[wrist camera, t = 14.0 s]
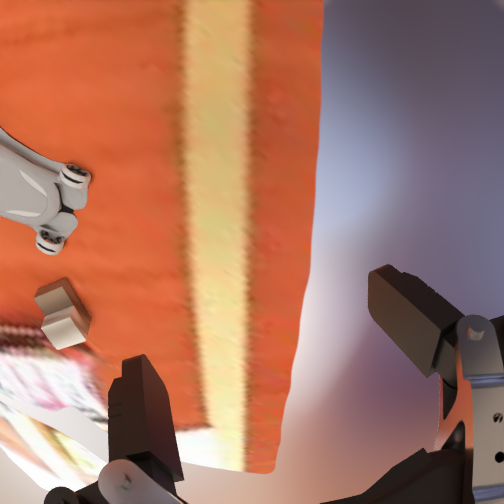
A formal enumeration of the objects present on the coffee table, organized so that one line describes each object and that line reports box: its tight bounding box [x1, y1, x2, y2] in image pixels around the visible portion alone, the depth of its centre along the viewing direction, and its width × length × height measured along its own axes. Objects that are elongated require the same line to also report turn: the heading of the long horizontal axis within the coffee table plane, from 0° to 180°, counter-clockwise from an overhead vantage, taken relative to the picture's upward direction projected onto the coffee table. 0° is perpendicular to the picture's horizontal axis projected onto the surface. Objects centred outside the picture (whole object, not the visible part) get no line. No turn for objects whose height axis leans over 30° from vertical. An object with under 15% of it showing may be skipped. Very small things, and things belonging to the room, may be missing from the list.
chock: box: [34, 277, 91, 350], centre depth 35 cm, size 7×5×5 cm
